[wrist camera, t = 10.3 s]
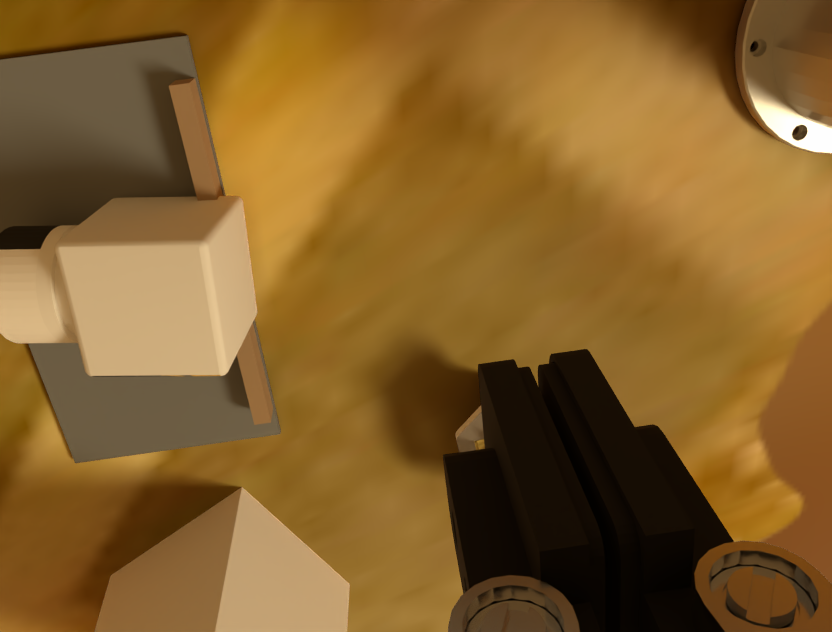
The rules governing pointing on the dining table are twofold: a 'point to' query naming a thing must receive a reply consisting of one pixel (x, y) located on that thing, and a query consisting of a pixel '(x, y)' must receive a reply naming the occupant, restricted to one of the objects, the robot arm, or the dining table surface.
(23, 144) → the tipping mat
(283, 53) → the dining table surface
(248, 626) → the milk
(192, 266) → the medicine bottle
